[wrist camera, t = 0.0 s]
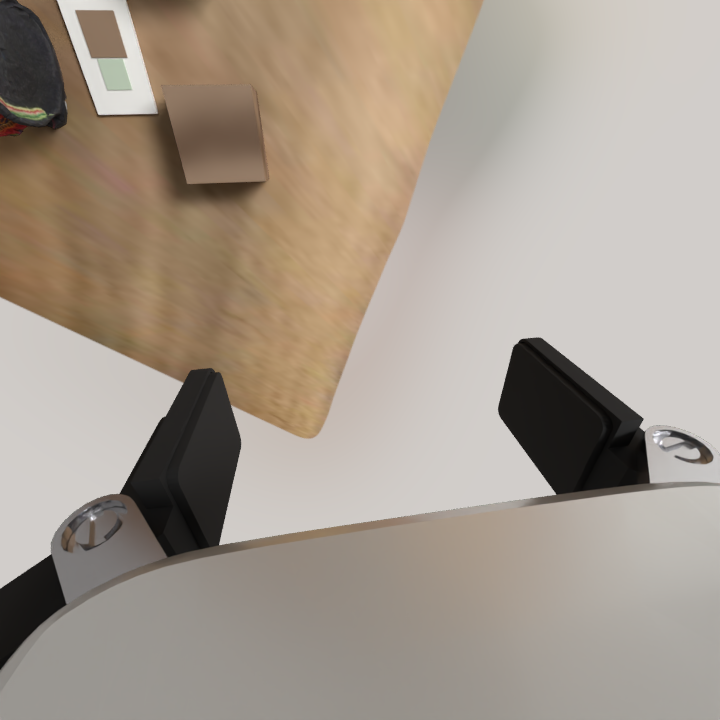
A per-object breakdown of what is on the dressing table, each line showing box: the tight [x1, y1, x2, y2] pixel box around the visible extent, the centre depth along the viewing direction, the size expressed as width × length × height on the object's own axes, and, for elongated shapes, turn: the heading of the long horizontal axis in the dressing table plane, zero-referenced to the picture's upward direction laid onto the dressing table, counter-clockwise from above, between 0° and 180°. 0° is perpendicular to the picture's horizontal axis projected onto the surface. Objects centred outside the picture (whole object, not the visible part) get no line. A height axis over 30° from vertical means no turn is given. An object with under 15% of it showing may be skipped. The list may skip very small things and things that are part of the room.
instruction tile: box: [57, 0, 159, 115], centre depth 28 cm, size 8×5×1 cm, turn 2°
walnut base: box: [161, 85, 269, 184], centre depth 30 cm, size 7×7×4 cm
